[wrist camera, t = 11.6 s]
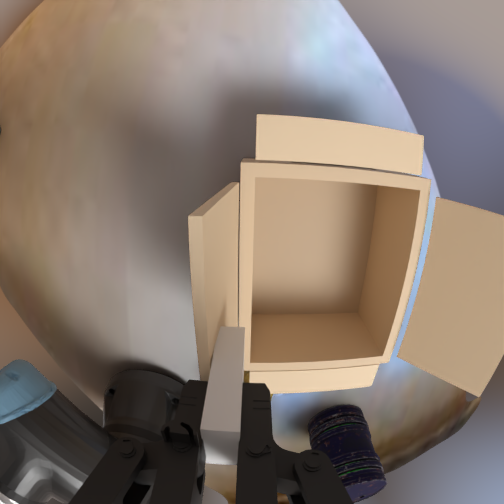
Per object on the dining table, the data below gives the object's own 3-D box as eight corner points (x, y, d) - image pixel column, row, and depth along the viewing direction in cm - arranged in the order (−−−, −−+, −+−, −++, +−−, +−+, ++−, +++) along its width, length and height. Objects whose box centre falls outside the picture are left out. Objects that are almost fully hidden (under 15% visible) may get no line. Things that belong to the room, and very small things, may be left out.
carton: (240, 341, 35) (238, 394, 27) (243, 124, 27) (241, 113, 18) (356, 338, 35) (379, 385, 27) (386, 137, 27) (434, 138, 18)
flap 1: (202, 216, 10) (188, 215, 10) (219, 460, 15) (212, 459, 15) (239, 182, 19) (231, 182, 19) (237, 364, 24) (232, 364, 24)
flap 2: (479, 397, 17) (480, 394, 18) (546, 231, 12) (545, 230, 12) (396, 356, 25) (398, 354, 25) (436, 197, 19) (437, 197, 20)
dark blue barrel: (295, 424, 42) (306, 501, 27) (347, 396, 39) (372, 474, 25) (325, 443, 44) (340, 509, 30) (372, 418, 42) (396, 485, 28)
